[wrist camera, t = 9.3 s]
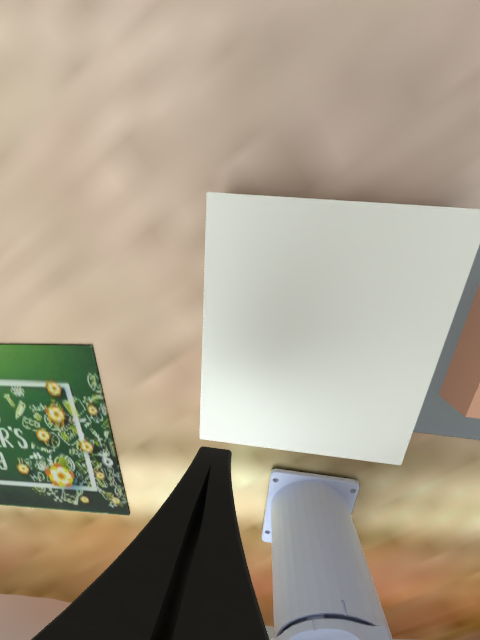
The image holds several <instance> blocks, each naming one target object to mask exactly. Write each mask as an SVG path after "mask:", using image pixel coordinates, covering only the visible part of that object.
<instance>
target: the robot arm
mask: <svg viewBox="0 0 480 640" xmlns="http://www.w3.org/2000/svg"><path fill="white" fill-rule="evenodd" d="M231 454H232V453H231V451H230V450H225V449H217V448H210V447H201V448H200V449H199V451H198V453H197V455H196V456H195V458H194V460H193V461H192V463H191V465H190V466H189V468H188V470H187V471H186V473H185V474H184V476H183V477H182V479H181V480H180V482H179V483H178V484H177V486H176V487H175V489H174V490H173V492H172V493H171V494H170V496H169V497H168V498H167V500H166V501H165V502H164V504H163V505H162V506H161V508H160V509H159V510H158V511H157V513H156V514H155V515H154V517H153V518H152V519H151V520H150V521H149V523H148V524H147V525H146V526H145V527H144V529H143V530H142V531H141V532H140V533H139V534H138V536H137V537H136V538H135V539H134V540H133V541H132V542H131V544H130V545H129V546H128V547H127V548H126V549H125V550H124V551H123V552H122V553H121V554H120V555H119V557H118V558H117V559H116V560H115V561H114V562H113V563H112V564H111V565H110V566H109V567H108V568H107V569H106V570H105V571H104V572H103V573H102V574H101V575H100V576H99V577H98V578H97V579H96V580H95V581H94V582H93V583H92V584H91V585H90V586H89V587H88V588H87V589H86V590H85V591H84V592H83V593H82V594H81V595H80V596H79V597H78V598H77V599H76V600H75V601H73V602H72V603H71V604H70V605H69V606H68V607H67V608H66V609H65V610H64V611H63V612H62V613H61V614H60V615H58V616H57V617H56V618H55V619H54V620H53V621H52V622H51V623H49V625H47V626H46V627H45V628H44V629H43V630H42V631H41V632H39V633H38V634H37V635H36V636H35V637H34V638H33V639H32V640H393V639H392V636H391V633H390V630H389V627H388V624H387V621H386V618H385V615H384V612H383V609H382V606H381V603H380V600H379V597H378V594H377V591H376V588H375V585H374V582H373V579H372V576H371V573H370V570H369V567H368V564H367V561H366V558H365V555H364V552H363V549H362V546H361V543H360V540H359V537H358V534H357V531H356V528H355V525H354V523H353V520H352V517H351V514H352V511H353V507H354V504H355V501H356V497H357V494H358V491H359V487H360V486H359V483H358V481H357V480H354V479H348V478H341V477H334V476H326V475H319V474H312V473H304V472H297V471H290V470H283V469H273V470H272V471H271V474H270V481H269V488H268V495H267V502H266V508H265V515H264V522H263V529H262V540H263V541H265V542H270V543H272V573H273V605H274V624H275V638H273V639H269V637H268V634H267V631H266V628H265V625H264V622H263V618H262V615H261V612H260V608H259V605H258V602H257V598H256V595H255V592H254V588H253V585H252V581H251V578H250V574H249V570H248V566H247V563H246V559H245V554H244V550H243V546H242V542H241V537H240V532H239V527H238V522H237V517H236V511H235V505H234V498H233V491H232V482H231ZM275 478H276V479H275Z"/></svg>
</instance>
